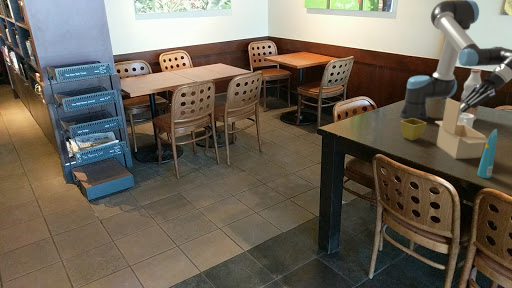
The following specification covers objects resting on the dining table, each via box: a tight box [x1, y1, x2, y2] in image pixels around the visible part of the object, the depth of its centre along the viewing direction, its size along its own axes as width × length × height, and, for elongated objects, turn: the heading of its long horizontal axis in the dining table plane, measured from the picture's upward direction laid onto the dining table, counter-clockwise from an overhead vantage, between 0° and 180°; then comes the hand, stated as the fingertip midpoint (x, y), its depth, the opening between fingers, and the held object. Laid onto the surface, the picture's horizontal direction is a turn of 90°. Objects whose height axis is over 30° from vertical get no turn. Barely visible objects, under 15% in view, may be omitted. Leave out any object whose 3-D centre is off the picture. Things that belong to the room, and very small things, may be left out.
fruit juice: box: [459, 68, 483, 121], centre depth 211 cm, size 9×9×28 cm
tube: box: [476, 128, 498, 179], centre depth 148 cm, size 7×5×19 cm, turn 140°
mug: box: [458, 113, 475, 129], centre depth 192 cm, size 12×9×10 cm
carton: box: [434, 120, 489, 160], centre depth 172 cm, size 28×12×10 cm, turn 4°
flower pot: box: [400, 118, 427, 141], centre depth 188 cm, size 9×9×9 cm
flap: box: [442, 97, 461, 135], centre depth 167 cm, size 10×1×14 cm, turn 4°
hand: (454, 116), depth 167 cm, fingers closed
